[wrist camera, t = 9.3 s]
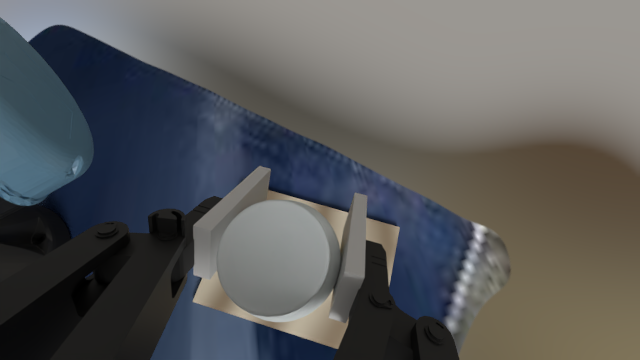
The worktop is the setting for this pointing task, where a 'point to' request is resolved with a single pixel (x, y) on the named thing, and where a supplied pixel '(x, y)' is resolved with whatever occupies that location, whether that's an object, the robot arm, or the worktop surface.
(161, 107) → the worktop surface
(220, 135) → the worktop surface
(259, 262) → the supplement bottle
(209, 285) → the birch board
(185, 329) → the worktop surface
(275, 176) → the worktop surface
